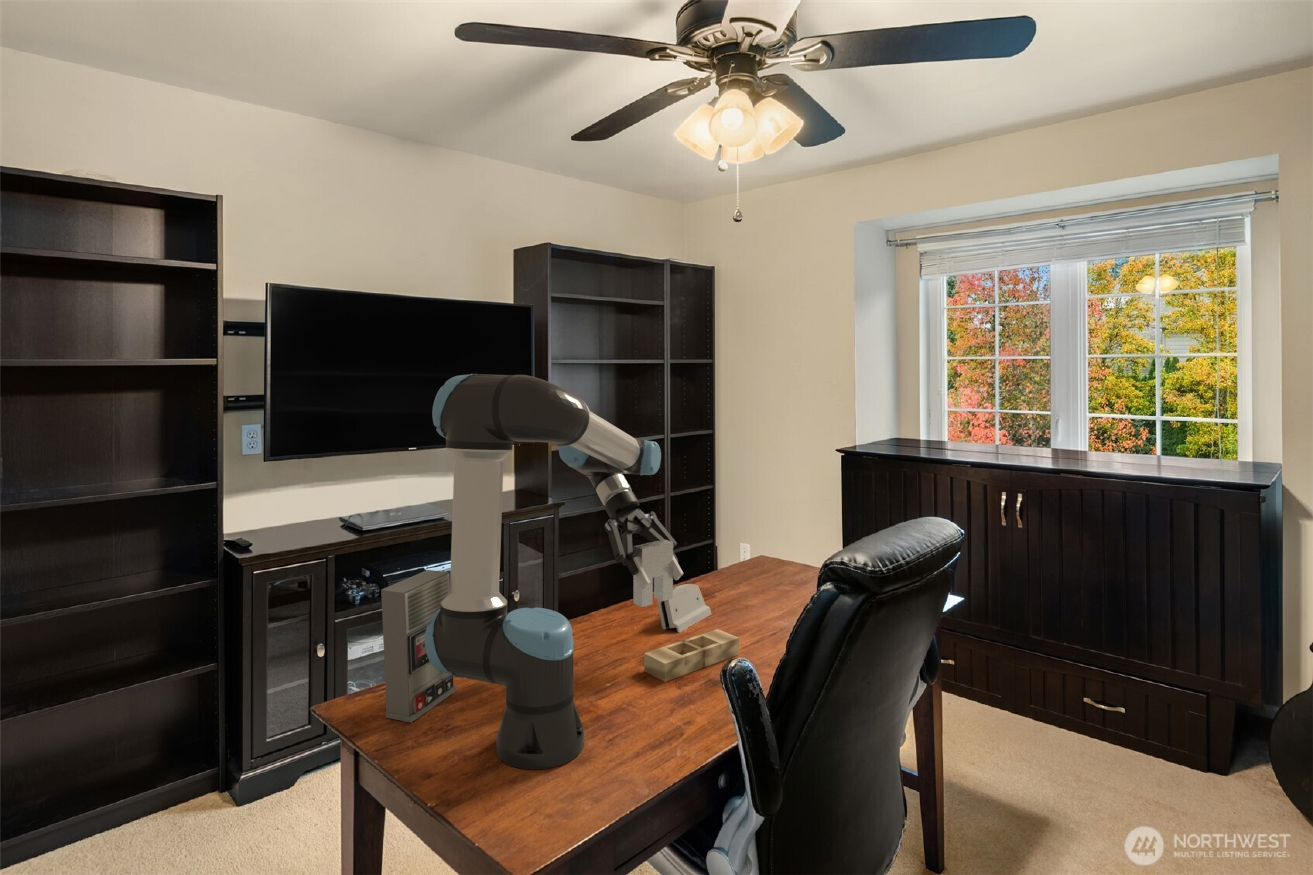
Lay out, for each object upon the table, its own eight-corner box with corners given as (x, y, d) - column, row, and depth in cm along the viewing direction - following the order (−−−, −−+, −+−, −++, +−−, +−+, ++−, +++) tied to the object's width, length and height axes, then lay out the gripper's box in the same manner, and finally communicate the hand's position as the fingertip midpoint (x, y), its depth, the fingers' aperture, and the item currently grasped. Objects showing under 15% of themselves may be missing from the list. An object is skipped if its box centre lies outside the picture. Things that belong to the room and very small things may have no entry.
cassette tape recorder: (412, 724, 135) (407, 593, 132) (385, 718, 137) (380, 589, 134) (457, 692, 148) (453, 572, 145) (432, 687, 150) (427, 569, 147)
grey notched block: (642, 607, 159) (642, 548, 157) (633, 603, 161) (633, 546, 160) (672, 598, 165) (673, 542, 163) (664, 594, 167) (664, 539, 165)
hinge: (678, 633, 179) (667, 593, 180) (663, 635, 182) (652, 596, 183) (712, 613, 193) (701, 576, 194) (698, 616, 196) (687, 579, 197)
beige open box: (665, 681, 152) (665, 663, 152) (644, 670, 158) (644, 653, 157) (738, 654, 166) (738, 637, 166) (717, 645, 172) (717, 628, 171)
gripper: (646, 502, 179) (690, 580, 169) (573, 514, 165) (616, 600, 155) (660, 483, 175) (707, 563, 165) (586, 495, 161) (632, 582, 150)
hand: (663, 581), depth 160 cm, fingers closed on grey notched block, 9 cm apart
